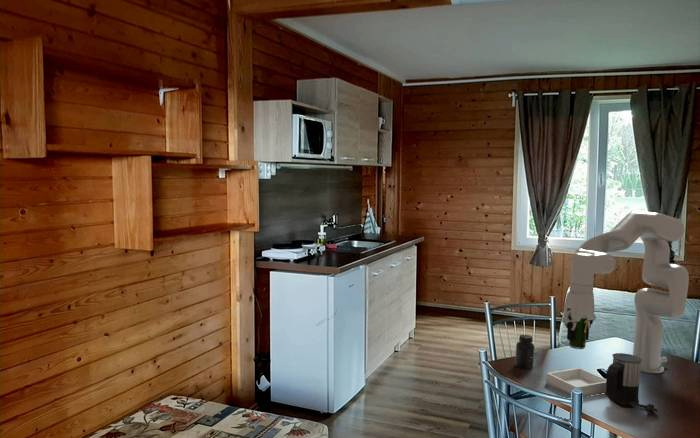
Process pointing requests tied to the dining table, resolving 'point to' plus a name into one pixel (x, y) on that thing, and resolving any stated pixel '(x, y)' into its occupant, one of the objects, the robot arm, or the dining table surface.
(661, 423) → the dining table surface
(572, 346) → the beer can
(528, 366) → the supplement bottle
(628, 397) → the milk frother
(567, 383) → the tray
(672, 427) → the dining table surface
